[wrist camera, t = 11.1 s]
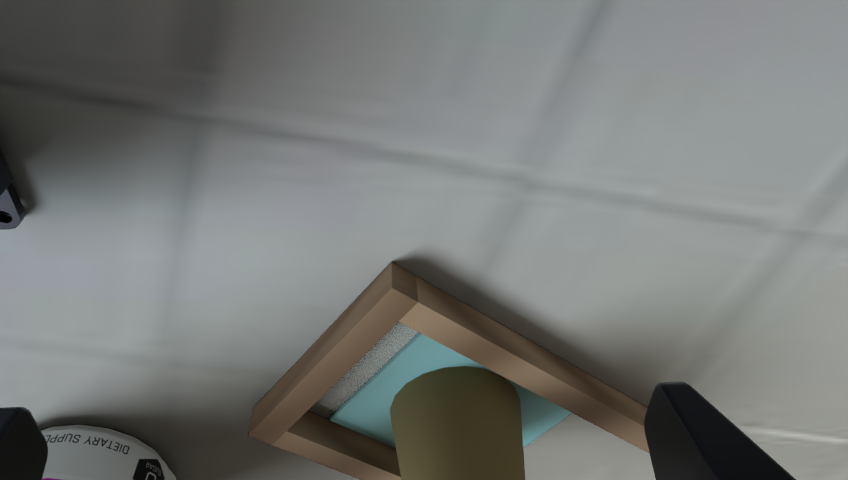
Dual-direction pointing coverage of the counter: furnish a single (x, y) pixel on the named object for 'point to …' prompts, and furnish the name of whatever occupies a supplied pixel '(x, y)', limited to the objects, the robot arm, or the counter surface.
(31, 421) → the robot arm
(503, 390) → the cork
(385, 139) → the counter surface
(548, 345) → the counter surface
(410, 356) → the rail track
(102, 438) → the supplement can
